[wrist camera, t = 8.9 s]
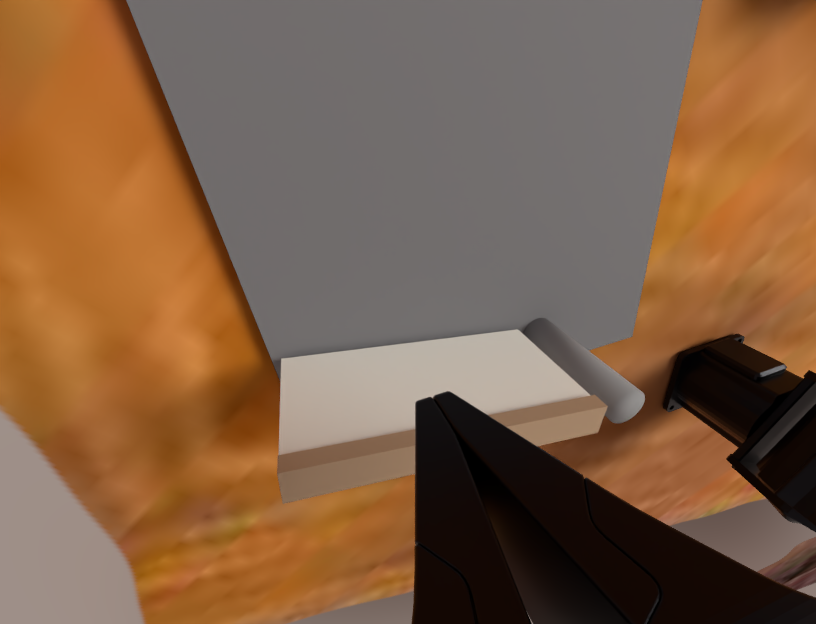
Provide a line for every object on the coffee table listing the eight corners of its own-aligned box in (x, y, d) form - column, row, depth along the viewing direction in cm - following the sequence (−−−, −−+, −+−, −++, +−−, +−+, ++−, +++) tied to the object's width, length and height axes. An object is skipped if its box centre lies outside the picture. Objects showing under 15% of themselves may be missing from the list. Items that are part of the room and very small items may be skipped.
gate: (518, 326, 23) (607, 406, 16) (513, 348, 23) (597, 432, 17) (280, 355, 19) (277, 473, 13) (284, 380, 20) (283, 503, 13)
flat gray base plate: (625, 332, 27) (738, 403, 20) (303, 433, 23) (310, 565, 16) (706, -77, 16) (1007, -218, 9) (117, -33, 12) (-109, -235, 5)
